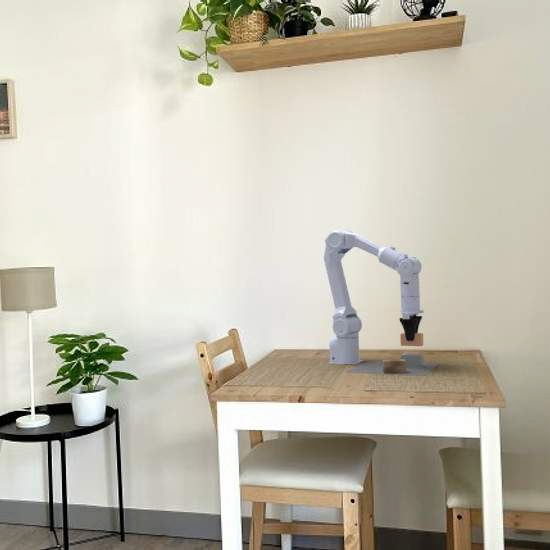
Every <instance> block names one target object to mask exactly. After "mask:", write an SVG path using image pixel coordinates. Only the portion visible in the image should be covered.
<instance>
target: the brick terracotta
mask: <svg viewBox="0 0 550 550" xmlns="http://www.w3.org/2000/svg"><path fill="white" fill-rule="evenodd" d="M399 335H400V346H401V347H423V346H424V345H425V344H424V333H423V332H422V333H421V332H418V333H415V338H414V341H407V340H406V336H405V332H402V333H400V334H399Z"/></svg>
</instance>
